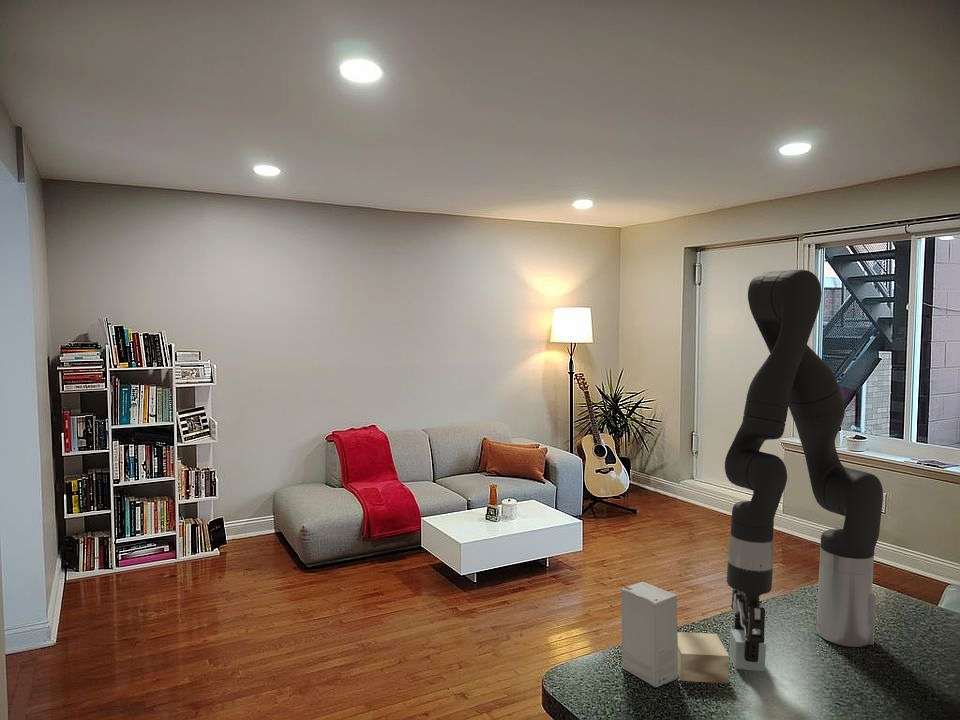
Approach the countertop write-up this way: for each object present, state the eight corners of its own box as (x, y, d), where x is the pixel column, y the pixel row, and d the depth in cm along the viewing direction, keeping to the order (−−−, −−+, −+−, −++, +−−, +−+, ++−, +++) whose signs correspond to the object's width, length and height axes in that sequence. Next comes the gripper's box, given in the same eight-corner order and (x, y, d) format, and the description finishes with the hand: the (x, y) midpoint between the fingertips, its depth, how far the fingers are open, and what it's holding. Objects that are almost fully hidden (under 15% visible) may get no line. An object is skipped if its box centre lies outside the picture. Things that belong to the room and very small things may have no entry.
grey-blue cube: (757, 657, 124) (758, 631, 124) (764, 671, 119) (765, 644, 119) (729, 655, 125) (730, 628, 125) (735, 669, 120) (736, 641, 120)
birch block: (715, 660, 123) (716, 633, 123) (728, 684, 115) (729, 655, 115) (670, 658, 124) (671, 631, 123) (680, 681, 116) (681, 653, 116)
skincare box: (678, 679, 116) (681, 595, 115) (654, 690, 113) (657, 603, 112) (641, 658, 123) (644, 579, 122) (618, 667, 120) (620, 586, 119)
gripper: (783, 578, 113) (778, 671, 114) (762, 549, 127) (757, 633, 128) (736, 574, 114) (731, 667, 115) (720, 546, 128) (716, 629, 129)
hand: (745, 649), depth 122 cm, fingers open, 8 cm apart
